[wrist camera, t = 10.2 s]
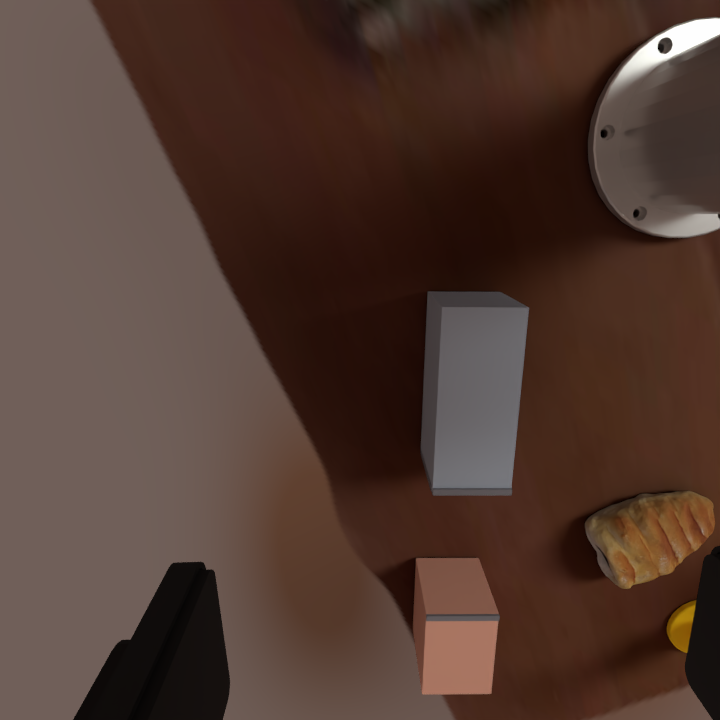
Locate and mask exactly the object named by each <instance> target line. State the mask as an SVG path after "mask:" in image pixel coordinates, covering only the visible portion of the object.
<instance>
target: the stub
mask: <svg viewBox="0 0 720 720" xmlns="http://www.w3.org/2000/svg"><path fill="white" fill-rule="evenodd" d="M499 618H500V616H499V613H498V610H497V607H496V605H495V602H494V599H493V596H492V594H491V591H490V588H489V585H488V583H487V580H486V577H485V574H484V572H483V569H482V566H481V563H480V561H479V558H416V569H415V591H414V614H413V635H414V642H415V649H416V655H417V663H418V670H419V676H420V683H421V690H422V694H491V689H492V679H493V669H494V658H495V648H496V638H497V628H498V621H499Z"/></svg>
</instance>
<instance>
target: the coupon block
mask: <svg viewBox="0 0 720 720" xmlns="http://www.w3.org/2000/svg"><path fill="white" fill-rule="evenodd" d="M528 313H529V307H527V306H525V305H523V304H522V303H520V302H518V301H516V300H514V299H512V298H511V297H509V296H507V295H505V294H503V293H502V292H430V291H428V294H427V317H426V340H425V362H424V385H423V408H422V431H421V457H422V461H423V464H424V468H425V472H426V475H427V479H428V482H429V486H430V490H432V494H433V495H512V489H511V486H512V475H513V465H514V455H515V445H516V435H517V425H518V414H519V404H520V394H521V384H522V374H523V364H524V353H525V343H526V333H527V323H528Z"/></svg>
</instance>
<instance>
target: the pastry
mask: <svg viewBox="0 0 720 720" xmlns="http://www.w3.org/2000/svg"><path fill="white" fill-rule="evenodd" d="M714 525H715V519H714V513H713V504H712V502H711V501H710V500H709V499H708V498H706V497H703V496H701V495H699V494H696V493H694V492H691V491H675V492H672V493H658V494H639V495H637V496H636V497H635V498H633V499H628V500H626V501H623V502H620V503H618V504H614V505H611V506H609V507H606V508H604V509H602V510H600V511H598V512H596V513H595V514H593V515H591V516H590V517H589V518H588V519H587V520H586V522H585V529H586V535H587V537H588V540H589V541H590V543H591V544H592V546H593V548H594V549H595V550H596V552H597V560H598V564H599V566H600V567H601V570H602V571H603V573H604V574H605V575H606V576H607V577H608V578H609V579H611V581H613V582H614V584H616V585H617V586H619V587H621V588H625V589H629V588H631V586H632V585H635V584H639V583H644V582H647V581H651V580H654V579H656V578H657V577H658V576H661V575H667V574H669V573H671V572H673V571H674V569H675V567H676V566H677V565H678V564H680V563H681V562H682V561H683V559H684V558H685V557H686V556H688V555H689V554H691V553H692V552H694V551H696V550H697V549H698V548H699V547H700V546H701V545H702V544H703V543H704V542H705V541H706V539H707V538H708V537H709V535H711V534H712V533H713V530H714Z"/></svg>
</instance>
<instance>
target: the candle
mask: <svg viewBox="0 0 720 720" xmlns="http://www.w3.org/2000/svg"><path fill="white" fill-rule="evenodd" d="M695 606H696V600H694V601H690V602H688V603H686V604H684V605H682V606H681V607H679V608H678V609H677V610H676V611H675V612H674V613H673V614H672V615H671V617H670V619H669V621H668V625H667V635H668V637H669V639H670V641H671V642H672V644H673V645H674V646H675V647H676V648H677V649H679V650H681V651H682V652H686V653H687V651H688V645H689V640H690V634H691V628H692V623H693V617H694V612H695Z"/></svg>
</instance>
